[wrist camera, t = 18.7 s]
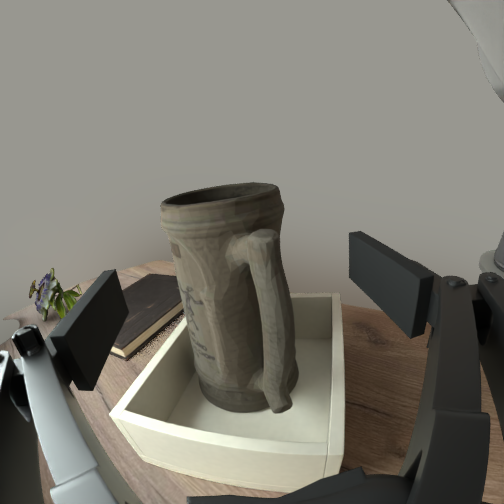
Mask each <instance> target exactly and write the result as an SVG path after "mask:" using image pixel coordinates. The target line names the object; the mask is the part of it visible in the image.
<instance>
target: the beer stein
mask: <svg viewBox="0 0 504 504" xmlns="http://www.w3.org/2000/svg"><path fill="white" fill-rule="evenodd" d="M160 207H161V220H160V222H161V228H162V229H163V230H164V231H165V232H166V233H167V235H168V238H169V241H170V246H171V251H172V256H173V261H174V267H175V272H176V277H177V281H178V286H179V290H180V295H181V299H182V303H183V308H184V313H185V317H186V322H187V326H188V330H189V335H190V339H191V343H192V348H193V352H194V356H195V357H194V366H195V368H196V371H197V373H198V375H199V386H200V389H201V391H202V394H203V395H204V396H205V398H206V399H207V400H208V401H209V402H210V403H212V404H213V405H215V406H216V407H219V408H221V409H223V410H226V411H229V412H237V413H249V412H257V411H260V410H263V409H266V408H269V407H270V408H271V410H272V412H273V413H274V414H278V413H283V412H285V411H287V410H289V409H291V407H292V405H293V402H292V400H291V397H290V395H289V394H290V393H291V392H292V390H293V389H294V388H295V386H296V383H297V381H298V377H299V370H298V365H297V362H296V359H295V357H296V348H295V324H294V313H293V307H292V300H291V296H290V292H289V288H288V284H287V281H286V277H285V273H284V269H283V265H282V260H281V252H280V230H281V224H282V218H283V214H284V204H283V202H282V200H281V195H280V191H279V188H278V187H277V186H276V185H273V184H267V183H254V182H252V183H241V184H230V185H222V186H216V187H210V188H204V189H199V190H194V191H190V192H186V193H182V194H179V195H176V196H173V197H170V198H168V199H166V200H164V201H163V202H162V203H161V205H160Z"/></svg>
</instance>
